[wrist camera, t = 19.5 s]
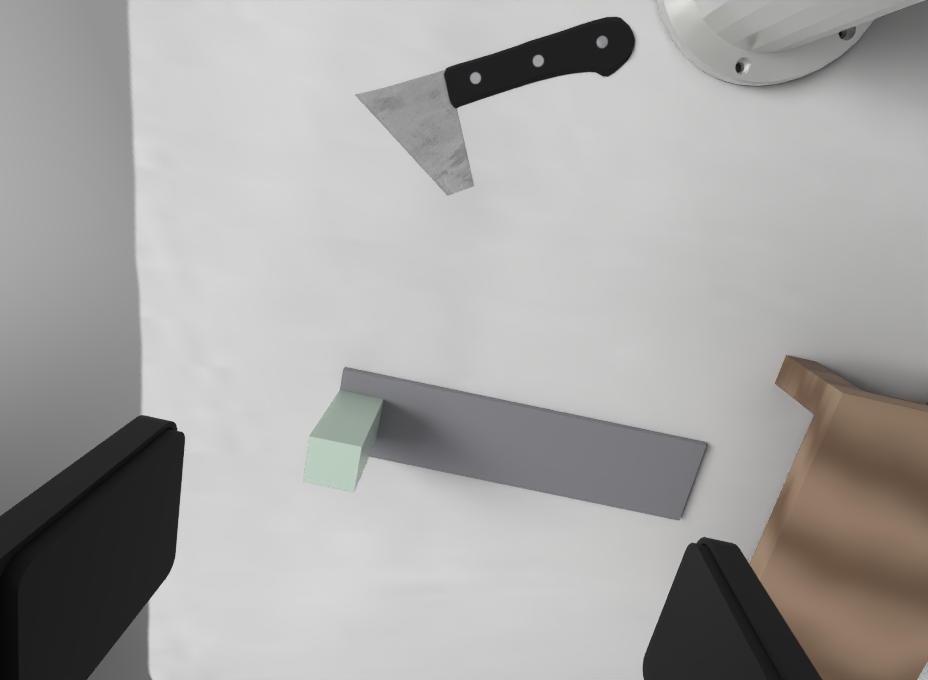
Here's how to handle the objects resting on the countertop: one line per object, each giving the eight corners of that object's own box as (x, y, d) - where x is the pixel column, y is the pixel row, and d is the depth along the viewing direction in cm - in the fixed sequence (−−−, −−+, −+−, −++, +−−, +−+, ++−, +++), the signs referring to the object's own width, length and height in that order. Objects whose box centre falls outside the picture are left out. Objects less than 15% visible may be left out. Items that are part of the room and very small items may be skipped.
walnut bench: (786, 355, 38) (842, 393, 32) (963, 395, 39) (1054, 440, 32) (686, 602, 44) (718, 674, 38) (841, 635, 45) (897, 713, 38)
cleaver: (652, 179, 36) (627, -1, 33) (654, 180, 36) (629, -3, 33) (210, 284, 39) (153, 129, 37) (206, 285, 39) (148, 128, 36)
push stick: (345, 365, 40) (312, 412, 33) (702, 440, 41) (749, 502, 33) (334, 443, 42) (300, 504, 35) (675, 513, 43) (714, 589, 35)
